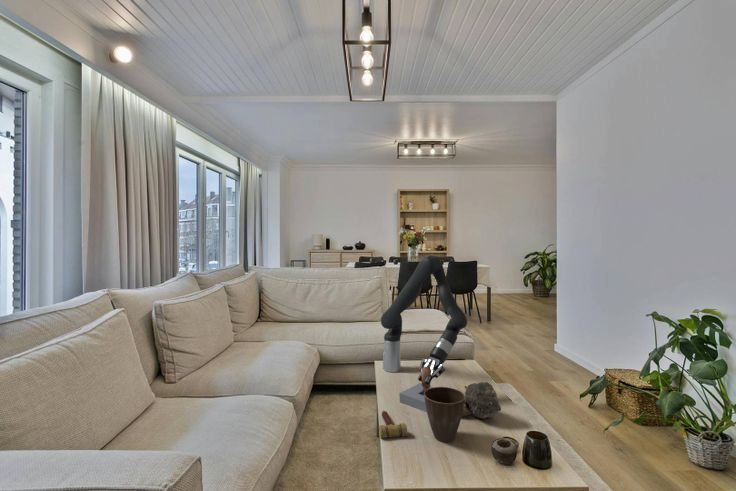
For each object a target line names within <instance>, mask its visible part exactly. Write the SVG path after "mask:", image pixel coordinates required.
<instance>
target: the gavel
mask: <svg viewBox="0 0 736 491" xmlns="http://www.w3.org/2000/svg"><path fill="white" fill-rule="evenodd" d="M381 417H382V419H383V421H384V423H385V424H380V425H379V426H378V434H379V438H380V440H381V439H382V440H383V439H387V438H393V437H394V438H395V437H399V436H401V437H407V436H408V427H407V424H406V423H405V422H401V423H399V424H394V422H393V421H392V420H391V417H390V416H389V414H388V412H387V411H386V410H382V412H381Z"/></svg>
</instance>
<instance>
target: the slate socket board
mask: <svg viewBox="0 0 736 491" xmlns="http://www.w3.org/2000/svg"><path fill="white" fill-rule="evenodd" d="M430 388H433V386H431V385H430ZM399 402H400V403H402V404H404V405H407V406H409V407H412V408H415V409H417V410H420V411H423V412H424V413H427V410H426V404H425V397H424V392H423V386H422V382H419V383H417V384H415V385H413V386H412V387H411V386H410V387H409V388H406V389H405V390H403V391H401V392H399Z"/></svg>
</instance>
